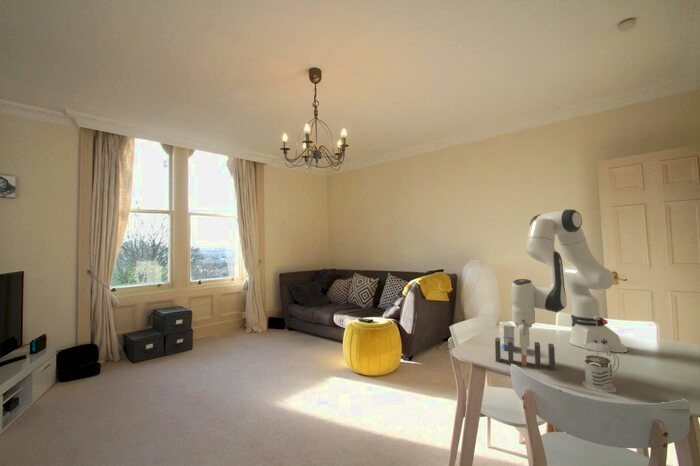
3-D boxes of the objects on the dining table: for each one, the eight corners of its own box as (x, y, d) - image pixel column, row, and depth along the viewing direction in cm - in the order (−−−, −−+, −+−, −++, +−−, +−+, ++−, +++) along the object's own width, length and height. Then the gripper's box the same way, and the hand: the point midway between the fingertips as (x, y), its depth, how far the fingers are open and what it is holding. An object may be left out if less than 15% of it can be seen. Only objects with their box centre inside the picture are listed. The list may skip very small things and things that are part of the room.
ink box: (515, 351, 152) (514, 325, 152) (503, 350, 153) (503, 325, 153) (509, 345, 160) (509, 321, 160) (499, 344, 161) (498, 320, 161)
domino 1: (500, 358, 143) (500, 338, 143) (500, 362, 138) (499, 341, 138) (496, 357, 144) (495, 337, 144) (495, 361, 139) (495, 340, 139)
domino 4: (539, 363, 136) (539, 342, 136) (540, 368, 131) (540, 345, 132) (534, 363, 137) (534, 341, 137) (535, 367, 132) (535, 345, 132)
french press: (575, 380, 120) (573, 312, 120) (607, 380, 119) (605, 312, 120) (594, 392, 110) (592, 319, 110) (629, 392, 110) (627, 319, 110)
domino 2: (513, 360, 140) (512, 339, 141) (513, 364, 136) (512, 342, 136) (508, 359, 141) (508, 338, 141) (508, 363, 137) (507, 342, 137)
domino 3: (526, 361, 138) (525, 340, 138) (526, 366, 134) (526, 344, 134) (521, 361, 139) (520, 340, 139) (521, 365, 135) (521, 343, 135)
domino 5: (553, 365, 134) (553, 344, 134) (555, 370, 129) (554, 347, 129) (548, 365, 134) (548, 343, 135) (549, 369, 130) (549, 347, 130)
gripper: (532, 324, 126) (534, 360, 126) (530, 313, 144) (531, 344, 144) (514, 323, 129) (515, 357, 129) (514, 312, 147) (515, 342, 147)
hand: (524, 350), depth 136 cm, fingers open, 8 cm apart
